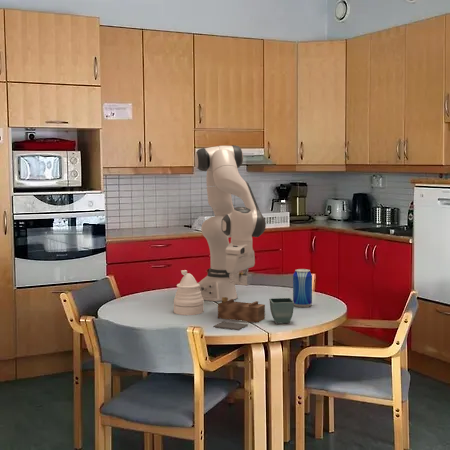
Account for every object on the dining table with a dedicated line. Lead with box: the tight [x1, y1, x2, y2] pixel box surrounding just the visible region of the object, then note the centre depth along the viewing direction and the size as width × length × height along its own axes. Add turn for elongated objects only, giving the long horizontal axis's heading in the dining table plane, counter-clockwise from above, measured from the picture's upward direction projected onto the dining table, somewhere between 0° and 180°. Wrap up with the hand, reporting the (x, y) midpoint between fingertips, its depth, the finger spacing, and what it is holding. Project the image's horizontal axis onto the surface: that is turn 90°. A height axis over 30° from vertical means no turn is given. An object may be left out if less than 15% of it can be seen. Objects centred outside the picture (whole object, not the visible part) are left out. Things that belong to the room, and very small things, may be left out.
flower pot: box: [268, 297, 295, 324], centre depth 275 cm, size 9×9×9 cm
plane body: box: [217, 297, 266, 323], centre depth 281 cm, size 18×7×8 cm, turn 63°
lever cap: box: [229, 271, 253, 286], centre depth 281 cm, size 8×5×5 cm, turn 63°
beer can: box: [292, 268, 313, 308], centre depth 305 cm, size 8×8×16 cm
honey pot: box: [173, 269, 205, 316], centre depth 294 cm, size 13×13×18 cm
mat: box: [213, 321, 249, 331], centre depth 268 cm, size 11×8×1 cm
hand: (240, 280), depth 281 cm, fingers closed on lever cap, 5 cm apart
